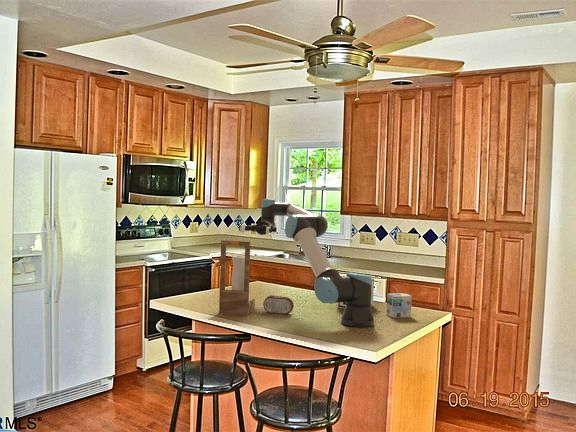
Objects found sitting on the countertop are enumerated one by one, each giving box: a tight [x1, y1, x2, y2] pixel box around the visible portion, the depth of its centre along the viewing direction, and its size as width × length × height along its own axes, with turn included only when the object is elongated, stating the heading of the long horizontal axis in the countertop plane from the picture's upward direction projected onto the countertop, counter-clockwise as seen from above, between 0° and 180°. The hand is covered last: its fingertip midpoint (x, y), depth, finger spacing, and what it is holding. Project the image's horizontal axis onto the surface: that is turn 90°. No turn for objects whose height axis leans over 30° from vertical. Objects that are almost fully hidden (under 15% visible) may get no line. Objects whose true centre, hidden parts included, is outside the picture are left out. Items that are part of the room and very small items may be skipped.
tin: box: [263, 295, 294, 315], centre depth 270 cm, size 15×3×8 cm, turn 74°
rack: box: [218, 239, 256, 317], centre depth 270 cm, size 15×14×36 cm
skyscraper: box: [230, 252, 245, 291], centre depth 271 cm, size 8×8×28 cm
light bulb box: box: [385, 292, 413, 318], centre depth 273 cm, size 11×7×11 cm, turn 105°
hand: (253, 230), depth 280 cm, fingers open, 13 cm apart
